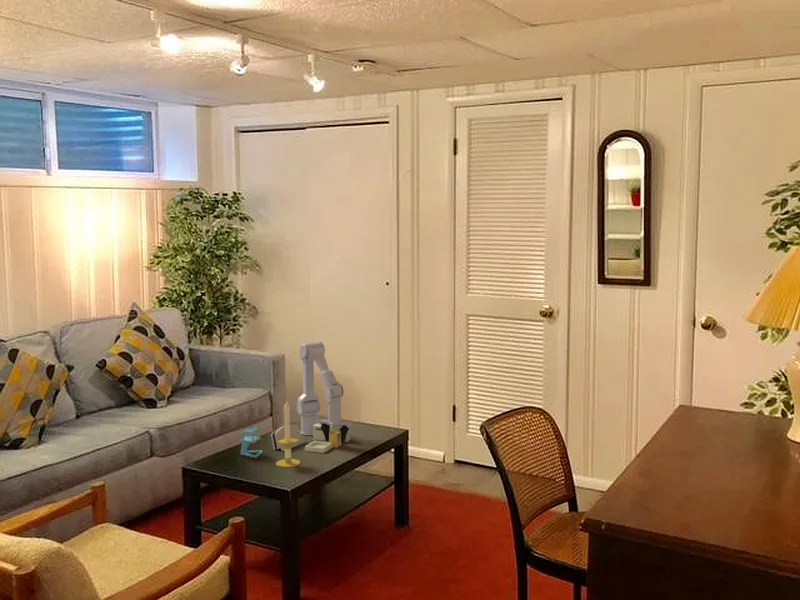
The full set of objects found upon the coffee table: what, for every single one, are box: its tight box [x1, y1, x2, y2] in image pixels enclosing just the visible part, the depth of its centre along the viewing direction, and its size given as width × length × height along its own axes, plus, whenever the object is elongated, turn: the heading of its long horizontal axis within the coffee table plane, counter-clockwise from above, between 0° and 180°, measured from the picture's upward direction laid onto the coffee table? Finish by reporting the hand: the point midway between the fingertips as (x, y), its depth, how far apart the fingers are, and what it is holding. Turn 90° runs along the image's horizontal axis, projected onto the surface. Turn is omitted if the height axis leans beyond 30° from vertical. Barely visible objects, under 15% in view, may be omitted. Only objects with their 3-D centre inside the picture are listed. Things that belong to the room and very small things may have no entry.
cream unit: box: [310, 423, 334, 443], centre depth 358 cm, size 6×9×7 cm, turn 69°
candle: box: [275, 400, 301, 468], centre depth 325 cm, size 10×10×27 cm
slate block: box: [337, 426, 351, 443], centre depth 357 cm, size 4×4×6 cm
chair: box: [239, 426, 264, 459], centre depth 338 cm, size 8×8×12 cm
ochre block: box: [329, 430, 342, 448], centre depth 350 cm, size 4×4×6 cm
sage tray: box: [304, 441, 334, 454], centre depth 345 cm, size 9×9×2 cm
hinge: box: [270, 424, 306, 452], centre depth 351 cm, size 17×5×10 cm, turn 148°
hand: (335, 441), depth 350 cm, fingers open, 7 cm apart
